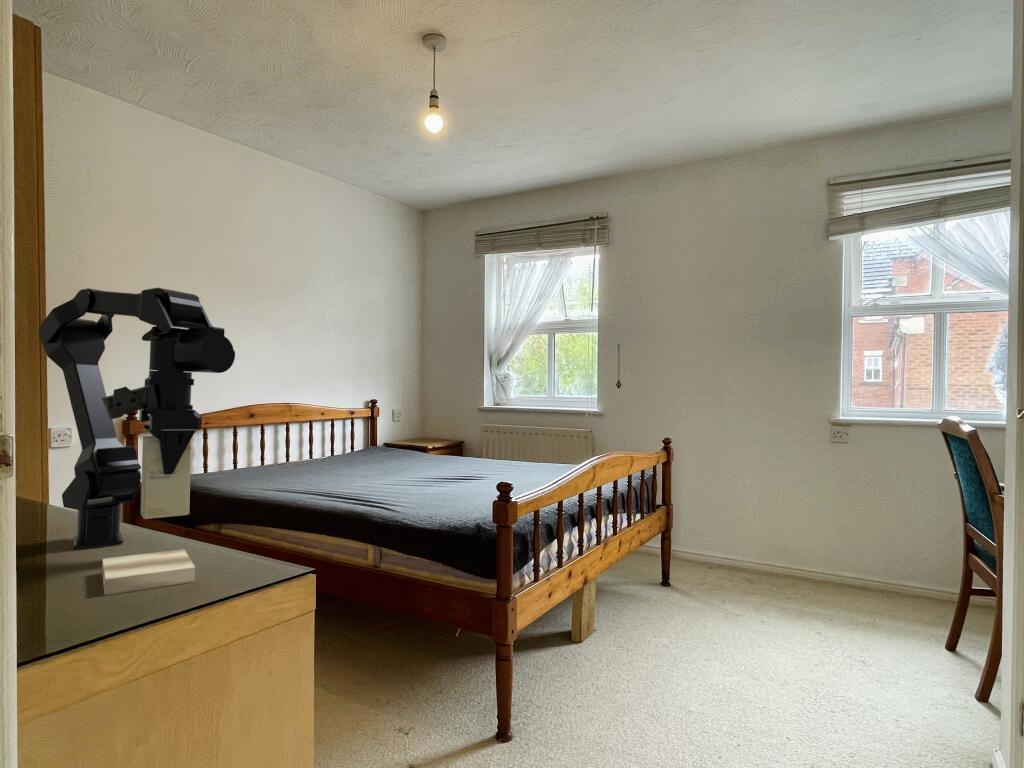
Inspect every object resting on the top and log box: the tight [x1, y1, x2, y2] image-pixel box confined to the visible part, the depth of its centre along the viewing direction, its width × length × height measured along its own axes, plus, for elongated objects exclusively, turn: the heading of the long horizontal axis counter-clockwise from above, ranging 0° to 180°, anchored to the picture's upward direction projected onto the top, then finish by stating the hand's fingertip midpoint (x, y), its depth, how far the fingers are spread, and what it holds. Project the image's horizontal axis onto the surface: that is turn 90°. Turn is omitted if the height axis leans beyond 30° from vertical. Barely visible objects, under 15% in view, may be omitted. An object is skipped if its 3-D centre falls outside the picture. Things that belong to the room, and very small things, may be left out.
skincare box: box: [140, 435, 193, 520], centre depth 89 cm, size 6×4×12 cm
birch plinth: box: [101, 548, 196, 596], centre depth 79 cm, size 10×10×2 cm
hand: (166, 472), depth 89 cm, fingers closed on skincare box, 4 cm apart
